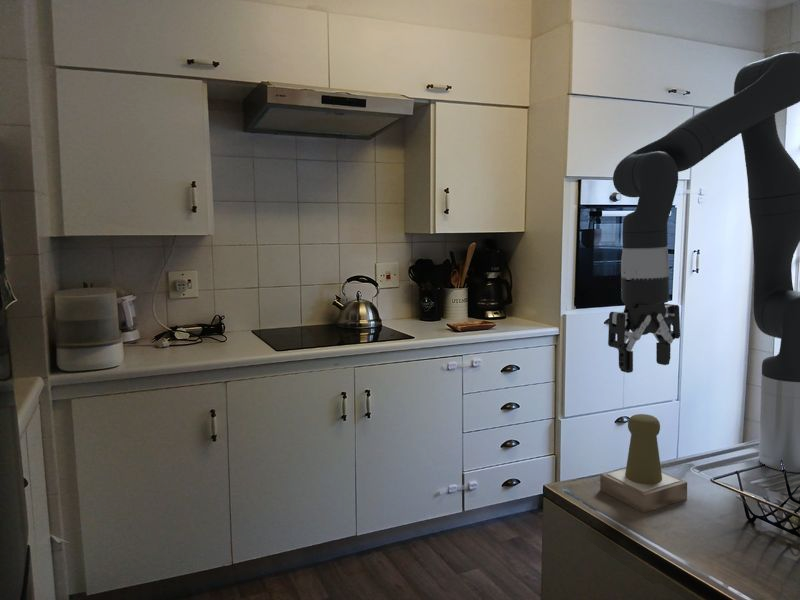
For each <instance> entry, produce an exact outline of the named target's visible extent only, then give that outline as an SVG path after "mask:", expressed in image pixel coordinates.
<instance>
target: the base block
mask: <svg viewBox="0 0 800 600" xmlns="http://www.w3.org/2000/svg"><path fill="white" fill-rule="evenodd" d="M661 472H662V481H661V482H659V483H656V484H640V483H636V482H633V481H630V480H629V479H627V478H626V476H625V473H626V466H625V467H620V468H618V469H612V470H610V471H605V472H602V473H600V474H599V478H600V479H599V484H600V485H599V490H600V491H601V492H604V493H606V494H607V495H609V496H611V497H612V498H613V497H614V498H615V499H617V500H619V501H621V502H623V503H625V504H626V505H628V506H630V507H632V508H634V509H636V510H637V511H640V512H641V513H643V514H645V513H647V512H650V511H653V510H656V509H660V508H663V507H665V506H670V505H671V503H673V504H675V503H674V502H676V503H678V502H681V501H685V500H688V482H687V481H686V480H683V479H681V478H678V477H676V476H674V475H672V474H669V473H667V472H665V471H662V470H661Z"/></svg>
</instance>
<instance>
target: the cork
mask: <svg viewBox="0 0 800 600" xmlns="http://www.w3.org/2000/svg"><path fill="white" fill-rule="evenodd" d="M627 429H628V431H629V432H630V441H629V448H628V454H627V461H626V466H625V467H626V473H625V476H626V478H627V479H629V480H630V481H633V482H636V483H640V484H656V483H659V482H661V481H662V472H661V471H662V466H661V459H660V453H659V452H660V451H659V450H660V449H659V444H658V435H659V434H660V431H661V424H660V420H659V419H658V418H657V417H655V416H654V415H651V414H646V413H644V414H643V413H639V414H638V413H637V414H634V415H632V416H630V417H629V418H628V422H627Z"/></svg>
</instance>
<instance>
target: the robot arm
mask: <svg viewBox="0 0 800 600" xmlns="http://www.w3.org/2000/svg"><path fill="white" fill-rule="evenodd" d="M736 74H737V75H736V76H735V79H734V83H733V84H734V85H733V95H732V96H730V97H728V98H726V99H724V100H722V101H720V102H718V103H716V104H714V105H712V106H709V107H708V108H705V109H704V110H701V111H700V112H697V113H696V114H695V115H692V116H691V117H690V118H688V119H686V120H684V122H682V123H681V124H679V125H677V126H676V127H675V128H673V129H672V130H670V131H669V132H668V133H667V134H665V135H664V136H662V137H661V138H659V139H657V140H654V141H652V142H650V143H647V144H646V145H645V146H642V147H640V148H638V149H637V150H635V151H633V152H631V153H629V154H628V155H626V156H625V157H624V158H623V159H621V160H620V161H619V163H618V164H617V165H616V167H615V169H614V171H613V175H612V182H613V185H614V188H615V190H616V191H617V192H618V193H619V194H620V195H621V196H624V197H627V198H638V200H637V205H636V207H635V210H634V211H632V212H630V213H628V214H626V215H625V216H624V218H623V220H622V250H621V252H622V253H621V260H620V268H621V269H620V272H621V274H620V275H621V276H620V286H621V287H620V289H621V290H620V294H621V295H620V296H621V297H620V298H621V299H620V300H621V301H622V302H623V304H624V309H623V311H622V312H621V311H620V312H618V311H610V312H609V315H608V336H607V337H608V339H607V346H608V347H611V348H613V349H614V348H615V349H617V351H618V368H619V369H620V371H621V372H623V373H628V374H629V373H632V372H634V351H633V348H634V345H635V344H636V342H637V341H639V340H640V339H641V337H642V336H646V335H648V334H652V335H653V336H654V338H655V339H656V341H657V342H656V346H655V347H656V348H655V349H656V352H655V353H656V356H655V358H656V363H657V364H658V365H661V366H662V365H663V366H668V365H669V364H670V361H671V349H672V348H671V344H673V342H674V340H675V339H676V340H677V339H679V338H681V317H680V315H681V314H680V305H678V304H672V303H667V302H669V300H670V259H669V252H668V251H669V250H668V223H669V222H668V221H669V217H670V215H671V211H672V208H673V204H674V200H675V197H676V194H677V193H676V192H677V190H678V189H677V188H678V185H679V173H680V172H685V171H687V170H688V169H689V170H690V169H691V168H692V167H693V168H694V166H696V165H697V164H699V163H701V161H703V160H704V159H706V158H707V157H708V156H710V155H711V154H712V153H714V152H715V151H716V150H718V149H720V148H721V147H722V146H724V145H725V144H727V143H728V142H730V141H732V139H734V138H735V137H737V136H739V135H741V136H740V137H741V141H742V146H743V152H744V154H743V155H744V161H745V168H746V169H745V171H746V177H747V178H746V179H747V192H748V193H747V194H748V197H747V198H748V207H749V210H748V211H749V217H750V225H751V234H752V250H753V251H752V252H753V253H752V254H753V263H754V264H753V266H754V267H753V268H754V269H753V270H754V271H753V273H754V274H753V280H754V281H753V302H752V303H753V305H752V306H753V316H754V317H753V318H754V321H755V324H756V326H757V328H758V329H759V330H760V332H762V333H763V334H764V335H767V336H769V337H772V338H776V339H780V347H779V352H778V354H777V355H773V356H772V355H771V356H768V357H765V358H763V360H762V363H761V377H760V378H761V379H760V381H761V382H760V384H761V386H760V411H759V412H760V414H759V415H760V419H759V441H758V442H759V444H758V445H759V446H758V447H759V448H758V461H759V463H761V464H763V465H764V464H765V465H764V466H766V467H769V468H771V469H773V470H777V471H782V465H781V462H780V461H781V460H783V464H784V467H785V470H786V471H785V472H787V473H800V291H798V290H794V286H793V276H792V274H793V273H792V265H793V259H794V255H795V252H796V250H797V248H798V246H799V244H800V167H799V166H798V164H797V162H795V160H794V159H793V158H792V156H791V155H790V153H789V152H788V151H787V150H786V148H785V147H784V145H783V144H782V142H781V140H780V137H779V134H778V130H777V121H776V114H777V113H778V112H781V111H783V110H785V109H787V108H790V107H792V106H794V105H797V104H799V103H800V52H796V51H786V52H782V53H778V54H774V55H772V56H768V57H766V58H763V59H760V60H756V61H754V62H750V63H748V64H746V65H744V66H743V67H742V68H741V69H740V70H738V73H736Z"/></svg>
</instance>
